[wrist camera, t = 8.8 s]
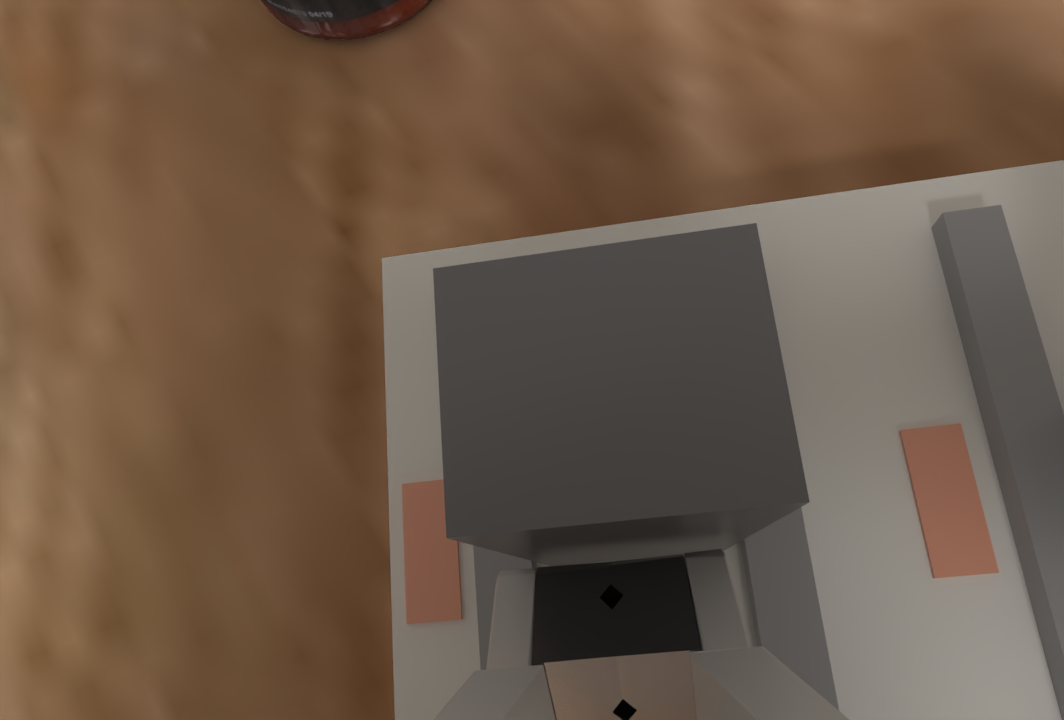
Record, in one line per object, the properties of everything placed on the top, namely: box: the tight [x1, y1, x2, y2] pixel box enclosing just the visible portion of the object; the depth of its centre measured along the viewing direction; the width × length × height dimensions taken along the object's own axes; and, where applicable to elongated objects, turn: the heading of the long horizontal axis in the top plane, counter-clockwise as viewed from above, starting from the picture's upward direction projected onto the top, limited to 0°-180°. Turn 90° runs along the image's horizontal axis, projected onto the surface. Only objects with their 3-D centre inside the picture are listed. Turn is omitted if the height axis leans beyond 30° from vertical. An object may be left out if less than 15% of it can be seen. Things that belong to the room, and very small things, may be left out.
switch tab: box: [433, 223, 810, 566], centre depth 10 cm, size 2×3×8 cm
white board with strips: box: [382, 160, 1064, 720], centre depth 13 cm, size 18×18×3 cm
